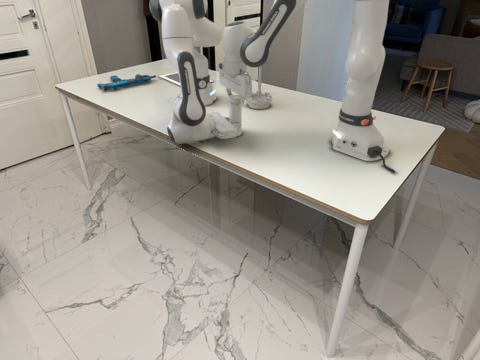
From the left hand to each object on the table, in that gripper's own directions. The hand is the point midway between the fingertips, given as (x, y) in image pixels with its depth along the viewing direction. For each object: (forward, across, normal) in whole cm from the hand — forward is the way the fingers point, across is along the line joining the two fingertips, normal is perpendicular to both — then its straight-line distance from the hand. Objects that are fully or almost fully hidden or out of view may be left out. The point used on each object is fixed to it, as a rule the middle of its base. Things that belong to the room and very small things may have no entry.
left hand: (237, 121), depth 145 cm
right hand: (-1, 0, -9) cm, 9 cm away
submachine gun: (-29, +95, +6) cm, 100 cm away
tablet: (+6, +86, +6) cm, 86 cm away
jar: (-1, 0, +5) cm, 5 cm away
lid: (-1, 0, -11) cm, 11 cm away
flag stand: (+25, +25, +5) cm, 36 cm away
